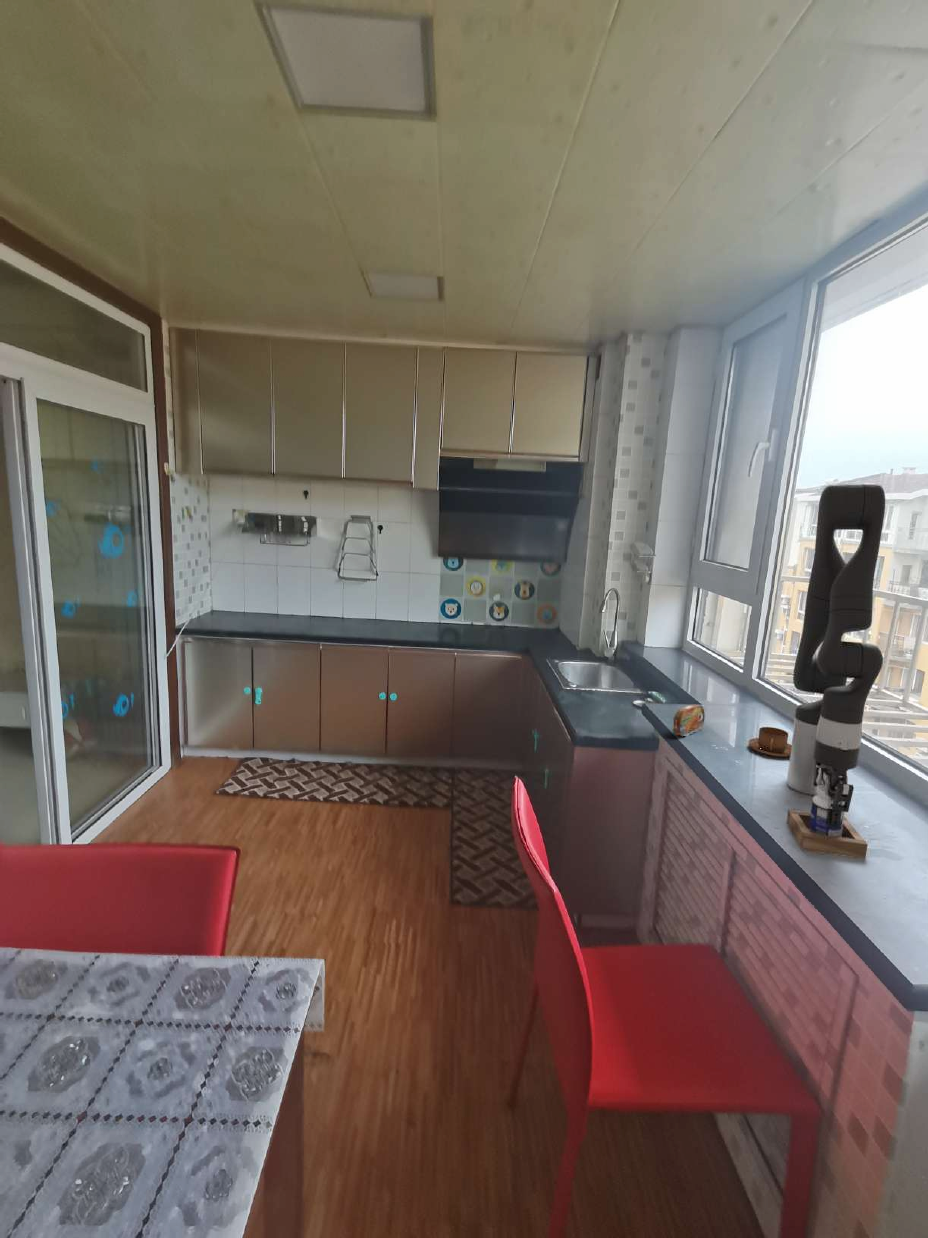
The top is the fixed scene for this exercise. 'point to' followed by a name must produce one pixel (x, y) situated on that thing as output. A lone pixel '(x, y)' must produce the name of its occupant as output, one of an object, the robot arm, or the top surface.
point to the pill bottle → (822, 815)
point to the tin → (688, 719)
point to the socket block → (826, 837)
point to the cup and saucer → (771, 742)
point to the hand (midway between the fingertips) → (826, 818)
